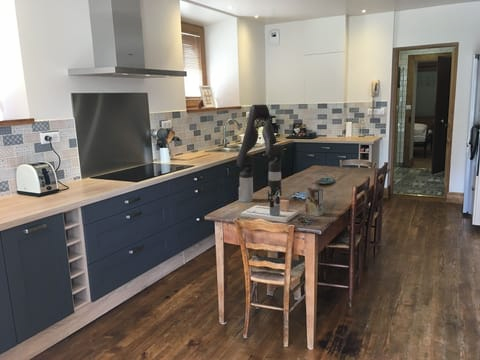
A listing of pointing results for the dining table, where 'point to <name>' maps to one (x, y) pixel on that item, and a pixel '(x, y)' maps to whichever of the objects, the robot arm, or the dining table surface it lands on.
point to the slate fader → (275, 210)
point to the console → (264, 213)
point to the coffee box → (314, 201)
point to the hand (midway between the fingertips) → (274, 205)
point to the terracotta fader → (284, 205)
